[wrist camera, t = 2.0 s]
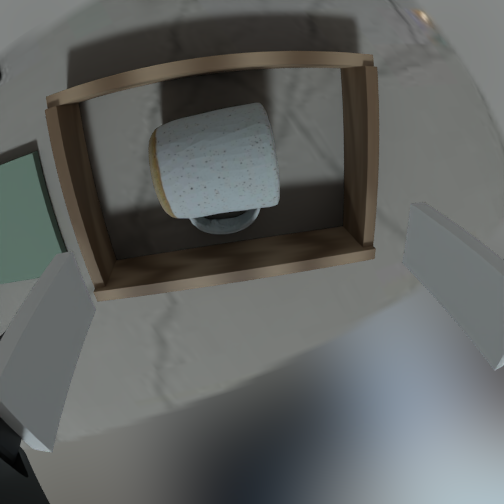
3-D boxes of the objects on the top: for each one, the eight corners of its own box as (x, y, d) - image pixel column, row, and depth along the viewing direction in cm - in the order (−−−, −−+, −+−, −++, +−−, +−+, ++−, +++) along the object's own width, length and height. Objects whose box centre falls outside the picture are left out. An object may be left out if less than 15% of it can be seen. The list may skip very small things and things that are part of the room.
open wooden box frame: (110, 270, 28) (97, 301, 24) (66, 94, 20) (39, 97, 16) (351, 234, 30) (374, 258, 26) (350, 58, 22) (379, 54, 18)
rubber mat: (-7, 280, 27) (-11, 285, 26) (-43, 184, 21) (-48, 187, 20) (72, 267, 28) (69, 272, 27) (37, 150, 22) (32, 153, 21)
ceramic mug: (154, 122, 23) (134, 136, 16) (254, 99, 23) (274, 104, 17) (185, 236, 28) (182, 285, 22) (273, 216, 29) (296, 259, 22)
